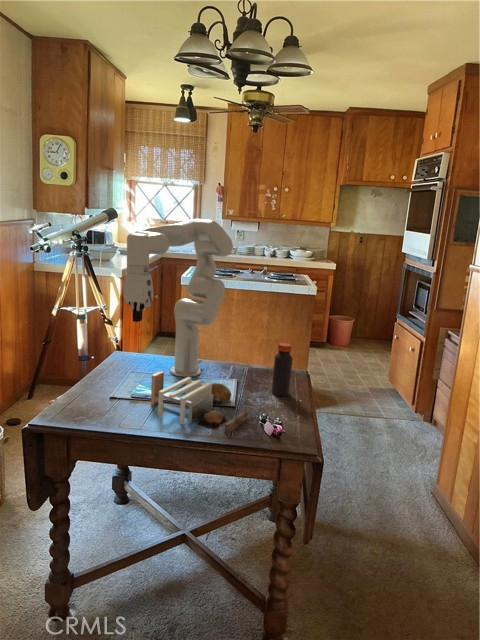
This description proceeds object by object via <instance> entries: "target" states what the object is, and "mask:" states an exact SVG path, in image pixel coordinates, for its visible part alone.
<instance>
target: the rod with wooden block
mask: <svg viewBox="0 0 480 640" xmlns="http://www.w3.org/2000/svg"><path fill="white" fill-rule="evenodd" d="M164 377H165V371H162V370H161V371H157V372H156V373H153V374H152V375H151V388H150V390H151V392H150V393H151V394H150V404H151V405H157V404H158V401H159V391H160V390H162V389H164V382H165V381H164V379H165V378H164ZM180 398H181V397H178V396H176V397H174V398H170V397H169V394H168V393H165V394H164V395H163V400H166V401H170V402H172V403H175V404H179V405H181V401H180ZM185 407H188V420H187V421H188V423H191V424H192V423H194V421H196V420H198V417H201V416H202V415H204V414H206V412H207V411H212V410H213V407H214V405H213V394H211V393H210V394H208V395H207V396H205V397H203V398H202V399H200V400H198V401H196V402H195V403H194V402H191V401H188V400H186V402H185Z"/></svg>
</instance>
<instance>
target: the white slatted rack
mask: <svg viewBox="0 0 480 640" xmlns="http://www.w3.org/2000/svg"><path fill="white" fill-rule="evenodd" d="M212 384H213V383H212V382H206V383H203V382H202V379H197V380H192V377H184V378H183V379H181V380H179V381H177V382H175V383H173V384H171V385H169V386H166V387H163V389H162V390H160V391H159V401H158V403H157V404H158V406H157V417H159V418H163V415H164V399H163V395H164V394H168V393H169V392H171V391H173V390H175V389H177V388H179V387H181V386H183V385H185V386H184V387H181V388H179V389H177V390H175V391H173V392H171V393H169V394H168V395H169V397H170V398H174V397H178V396H180V395H182V394H183V393H185V395H182V396H180V397H179V398H180V401H181V404H179V406H180V407H179V425H184V424H185V421H186V418H185V417H186V406H185V402H186V400H188V401H191V402H194V403H195V402H196V401H198V400H200V399H202V398H203V397H205V396H207V395H208V394H210V393H211V389H212Z"/></svg>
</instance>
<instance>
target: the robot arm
mask: <svg viewBox="0 0 480 640" xmlns="http://www.w3.org/2000/svg"><path fill="white" fill-rule="evenodd" d="M191 243H193V245H194V246H193V247H194V250H195V251H194V252H195V254H196V265H195V269H194V271H193V273H192V274H191V278H190V280H189V282H188V285H187V289H186V290H187V294H188V295H189V296H190V297H191V298H180V299H179V300H177V301H176V302H175V305H174V308H173V310H174V311H173V312H174V313H173V314H174V320H175V345H174V346H175V347H174V365H173V366H172V367H171V368H170V373H171V374H172V375H174V376H176V377H179V378H180V377H181V378H187V377H191V378H192V377H196V376H199V375H200V374H201V368H200V367H199V365H200V364H202V363H203V359H202V358H198V356H199V341H200V340H199V339H200V331H199V327H198V325H199V326H203V327H204V326H205V327H207V326H208V327H209V326H210V325H211V324H212V323H213V322H214V320H215V319H216V317H217V315H218V312H219V309H220V307H221V305H222V302H223V300H224V297H225V293H226V286H225V283H224V281H222V280H221V279H219V278H215V276H216V271H217V266H216V265H217V264H216V262H215V259H214V258H213V256H215V257H228V256H230V254H231V253H232V251H233V248H234V247H233V245H234V244H233V241H232V237H230V236H229V234H228V233H227V232H226V231H225V229H224V227H222V226H221V225H220V224H219V223H218V222H217V221H215V220H213V219H212V220H211V219H203V218H193V219H188V220H185V221H181V222H180V221H179V222H177V223H174V224H172V223H171V224H164V225H157V226H151V227H146V228H141V229H138V230H137V231H135V232H132V233H129V234H127V236H126V272H125V274H124V279H123V291H122V292H123V299H124V303H125V304H127V305H129V306H130V310H132V322H136V323H140V322H142V320H143V311H144V310H145V309H146V308H149V307H151V306H152V302H153V301H154V285H153V278H152V274H150V273H151V272H152V268H151V267H150V255H151V254H152V255H163V254H165V253H167V251H168V250H169V249H170V247H173V248H174V247H182V246H186V245H188V244H191ZM193 298H195V299H193ZM203 300H204V301H203Z"/></svg>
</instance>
